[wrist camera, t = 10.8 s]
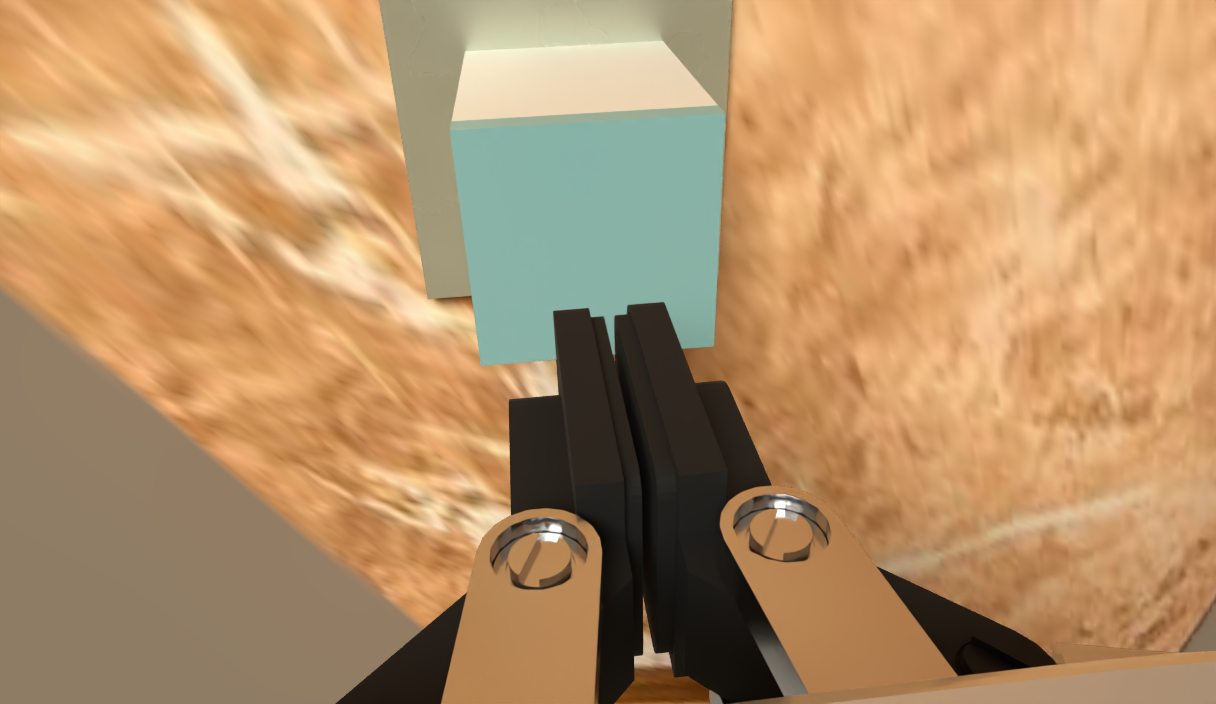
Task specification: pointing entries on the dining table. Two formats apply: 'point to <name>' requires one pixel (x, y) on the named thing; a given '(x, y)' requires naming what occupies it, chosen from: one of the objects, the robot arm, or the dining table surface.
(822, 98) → the dining table surface
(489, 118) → the cream and teal block
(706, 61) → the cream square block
